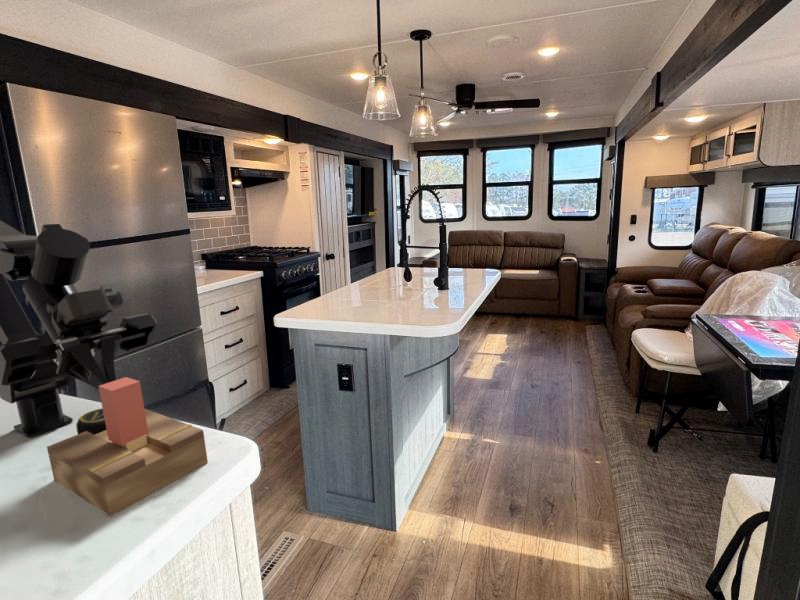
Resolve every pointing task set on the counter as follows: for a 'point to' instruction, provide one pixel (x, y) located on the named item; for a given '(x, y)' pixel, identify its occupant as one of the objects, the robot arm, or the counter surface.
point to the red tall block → (124, 413)
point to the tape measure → (92, 422)
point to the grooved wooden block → (127, 463)
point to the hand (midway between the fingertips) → (113, 393)
